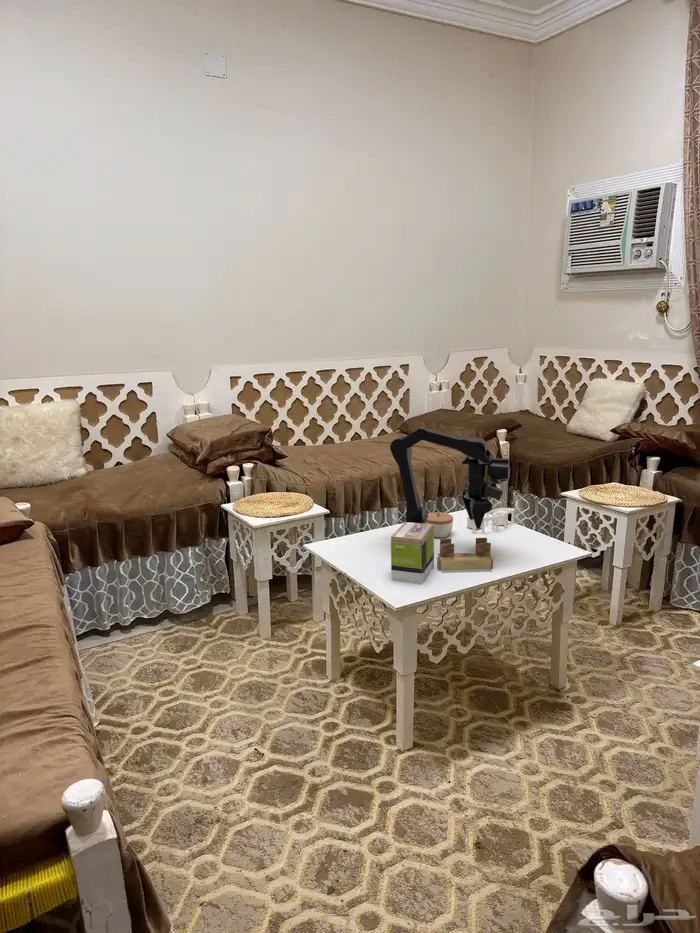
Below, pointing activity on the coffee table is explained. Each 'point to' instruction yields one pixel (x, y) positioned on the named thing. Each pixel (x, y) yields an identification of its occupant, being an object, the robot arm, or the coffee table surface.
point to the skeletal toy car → (493, 519)
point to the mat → (466, 570)
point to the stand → (480, 551)
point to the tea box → (412, 552)
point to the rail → (464, 563)
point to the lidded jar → (440, 523)
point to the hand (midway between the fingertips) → (474, 523)
